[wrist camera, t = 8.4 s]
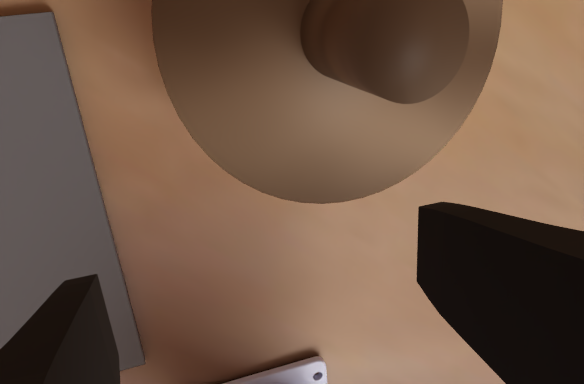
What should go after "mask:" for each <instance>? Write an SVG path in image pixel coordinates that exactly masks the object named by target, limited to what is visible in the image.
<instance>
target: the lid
mask: <svg viewBox="0 0 584 384" xmlns="http://www.w3.org/2000/svg"><path fill="white" fill-rule="evenodd" d="M502 4H503V0H152V27H153V40H154V46H155V51H156V56H157V61H158V66H159V69H160V72H161V75H162V78H163V81H164V84H165V87H166V90H167V93H168V95H169V97H170V99H171V101H172V104H173V106H174V108H175V110H176V112H177V114H178V116H179V118H180V119H181V121H182V122H183V124H184V126H185V127H186V129H187V130H188V132H189V133H190V135H191V136H192V138H193V139H194V140H195V141H196V142H197V144H198V145H199V146H200V147H201V148H202V149H203V151H204V152H205V153H206V154H207V155H208V156H209V157H210V158H211V159H212V160H213V161H214V162H216V163H217V164H218V165H219V166H220V167H221V168H222V169H223V170H225V171H226V172H227V173H229V174H230V175H232V176H233V177H235V178H236V179H238V180H239V181H241V182H242V183H244V184H246V185H248V186H250V187H252V188H254V189H256V190H258V191H260V192H262V193H265V194H268V195H272V196H275V197H278V198H281V199H285V200H290V201H296V202H301V203H318V204H325V203H337V202H345V201H350V200H355V199H359V198H363V197H366V196H369V195H372V194H375V193H378V192H381V191H383V190H385V189H387V188H389V187H391V186H393V185H395V184H397V183H399V182H401V181H402V180H404V179H405V178H407V177H409V176H410V175H412V174H413V173H415V172H416V171H418V170H419V169H420V168H421V167H423V166H424V165H425V164H426V163H428V162H429V161H430V160H431V159H432V158H433V157H434V156H435V155H436V154H437V153H438V152H439V151H440V150H441V149H442V148H443V147H444V146H446V145H447V143H448V142H449V141H450V140H451V138H452V137H453V136H454V135H455V133H456V132H457V131H458V130H459V129H460V127H461V126H462V124H463V123H464V121H465V120H466V118H467V117H468V115H469V113H470V112H471V110H472V109H473V107H474V105H475V103H476V101H477V99H478V97H479V95H480V93H481V91H482V89H483V87H484V84H485V82H486V79H487V77H488V74H489V72H490V69H491V66H492V62H493V59H494V55H495V52H496V48H497V43H498V38H499V32H500V27H501V17H502Z"/></svg>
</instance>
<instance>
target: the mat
mask: <svg viewBox="0 0 584 384" xmlns="http://www.w3.org/2000/svg"><path fill="white" fill-rule="evenodd" d="M93 274H98V278H99V282H100V286H101V289H102V293H103V297H104V301H105V304H106V308H107V312H108V316H109V320H110V323H111V327H112V331H113V335H114V338H115V342H116V346H117V350H118V353H119V365H120V371H122V370H125V369H129V368H133V367H136V366H140V365H144V364H145V356H144V352H143V349H142V345H141V341H140V337H139V334H138V330H137V326H136V322H135V318H134V315H133V311H132V307H131V303H130V300H129V296H128V292H127V288H126V284H125V281H124V277H123V273H122V269H121V266H120V262H119V258H118V254H117V250H116V247H115V243H114V239H113V235H112V232H111V228H110V224H109V220H108V216H107V213H106V209H105V205H104V201H103V198H102V194H101V190H100V186H99V182H98V179H97V175H96V171H95V167H94V164H93V160H92V156H91V152H90V148H89V145H88V141H87V137H86V133H85V130H84V126H83V122H82V118H81V114H80V111H79V107H78V103H77V99H76V96H75V92H74V88H73V84H72V80H71V77H70V73H69V69H68V65H67V62H66V58H65V54H64V50H63V46H62V43H61V39H60V35H59V31H58V28H57V24H56V20H55V16H54V12H44V13H34V14H24V15H13V16H3V17H0V349H1V348H2V347H3V346H4V345H5V344H6V343H7V342H8V341H9V340H10V339H11V338H12V337H13V336H14V335H15V334H16V332H17V331H18V330H19V329H20V328H21V327H22V326H23V325H24V324H25V323H26V322H27V321H28V320H29V318H30V317H31V316H32V315H33V314H34V313H35V312H36V311H37V310H38V309H39V308H40V306H41V305H42V304H43V303H44V302H45V301H46V300H47V299H48V297H49V296H50V295H51V294H52V293H53V292H54V291H55V290H56V289H57V288H58V287H59V286H60V285H61V284H62V283H63V282H64V281H65V280H69V279H74V278H79V277H84V276H88V275H93Z"/></svg>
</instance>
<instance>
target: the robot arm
mask: <svg viewBox="0 0 584 384" xmlns="http://www.w3.org/2000/svg"><path fill="white" fill-rule="evenodd" d="M417 282H418V284H419V285H420V287H421V288H422V290H423V291H424V293H425V294H426V296H427V297H428V299H429V300H430V301H431V303H432V304H433V305H434V307H435V308H436V310H437V311H438V312H439V314H440V315H441V316H442V317H443V318H444V319H445V320H446V321H447V322H448V323H449V325H450V326H451V327H452V328H453V329H454V330H455V331H456V332H457V333H458V334H459V335H460V336H461V337H462V338H463V339H464V340H465V342H466V343H467V344H468V345H469V346H470V347H471V348H472V349H473V350H474V351H475V352H476V353H477V354H478V355H479V356H480V357H481V358H482V359H483V360H484V361H485V362H486V363H487V364H488V365H489V367H490V368H491V369H492V370H493V371H494V372H495V373H496V374H497V375H498V376H499V377H500V378H501V379H502V380H503V381H504V382H505V383H506V384H584V231H579V230H574V229H569V228H564V227H559V226H554V225H549V224H545V223H540V222H536V221H531V220H527V219H523V218H519V217H514V216H510V215H506V214H502V213H498V212H493V211H489V210H485V209H480V208H476V207H471V206H466V205H461V204H455V203H447V202H439V203H434V204H429V205H425V206H420V207H419V214H418V251H417ZM317 372H319V373H318V374H317V375H314V374H315V373H317ZM0 384H120V365H119V353H118V350H117V346H116V342H115V338H114V335H113V331H112V327H111V323H110V320H109V316H108V312H107V308H106V304H105V301H104V297H103V293H102V289H101V286H100V282H99V278H98V274H93V275H88V276H84V277H79V278H74V279H69V280H65V281H64V282H63V283H62V284H61V285H60V286H59V287H58V288H57V289H56V290H55V291H54V292H53V293H52V294H51V295H50V296H49V297H48V299H47V300H46V301H45V302H44V303H43V304H42V305H41V306H40V308H39V309H38V310H37V311H36V312H35V313H34V314H33V315H32V316H31V317H30V318H29V320H28V321H27V322H26V323H25V324H24V325H23V326H22V327H21V328H20V329H19V330H18V331H17V332H16V334H15V335H14V336H13V337H12V338H11V339H10V340H9V341H8V342H7V343H6V344H5V345H4V346H3V347H2V348H1V349H0ZM222 384H327V372H326V364H325V362H324V360H323V358H321V357H319V356H316V357H312V358H308V359H305V360H301V361H298V362H294V363H291V364H288V365H284V366H281V367H277V368H274V369H270V370H267V371H263V372H260V373H257V374H253V375H250V376H246V377H243V378H239V379H236V380H233V381H229V382H226V383H222Z"/></svg>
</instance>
